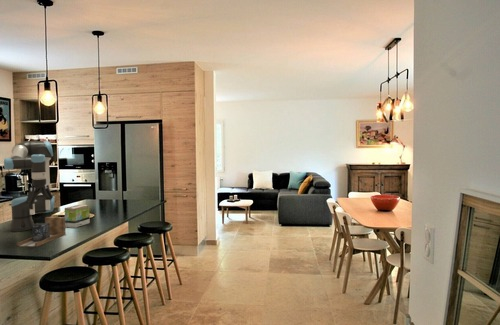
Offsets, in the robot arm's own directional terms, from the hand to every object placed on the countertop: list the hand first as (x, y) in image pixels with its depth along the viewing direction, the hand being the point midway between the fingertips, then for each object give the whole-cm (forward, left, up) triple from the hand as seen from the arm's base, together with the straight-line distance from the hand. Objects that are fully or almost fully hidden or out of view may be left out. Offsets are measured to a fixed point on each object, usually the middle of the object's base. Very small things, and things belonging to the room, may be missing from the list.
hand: (40, 212), depth 204 cm
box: (0, 0, -18) cm, 18 cm away
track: (0, 0, -18) cm, 18 cm away
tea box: (-1, +39, -19) cm, 43 cm away
